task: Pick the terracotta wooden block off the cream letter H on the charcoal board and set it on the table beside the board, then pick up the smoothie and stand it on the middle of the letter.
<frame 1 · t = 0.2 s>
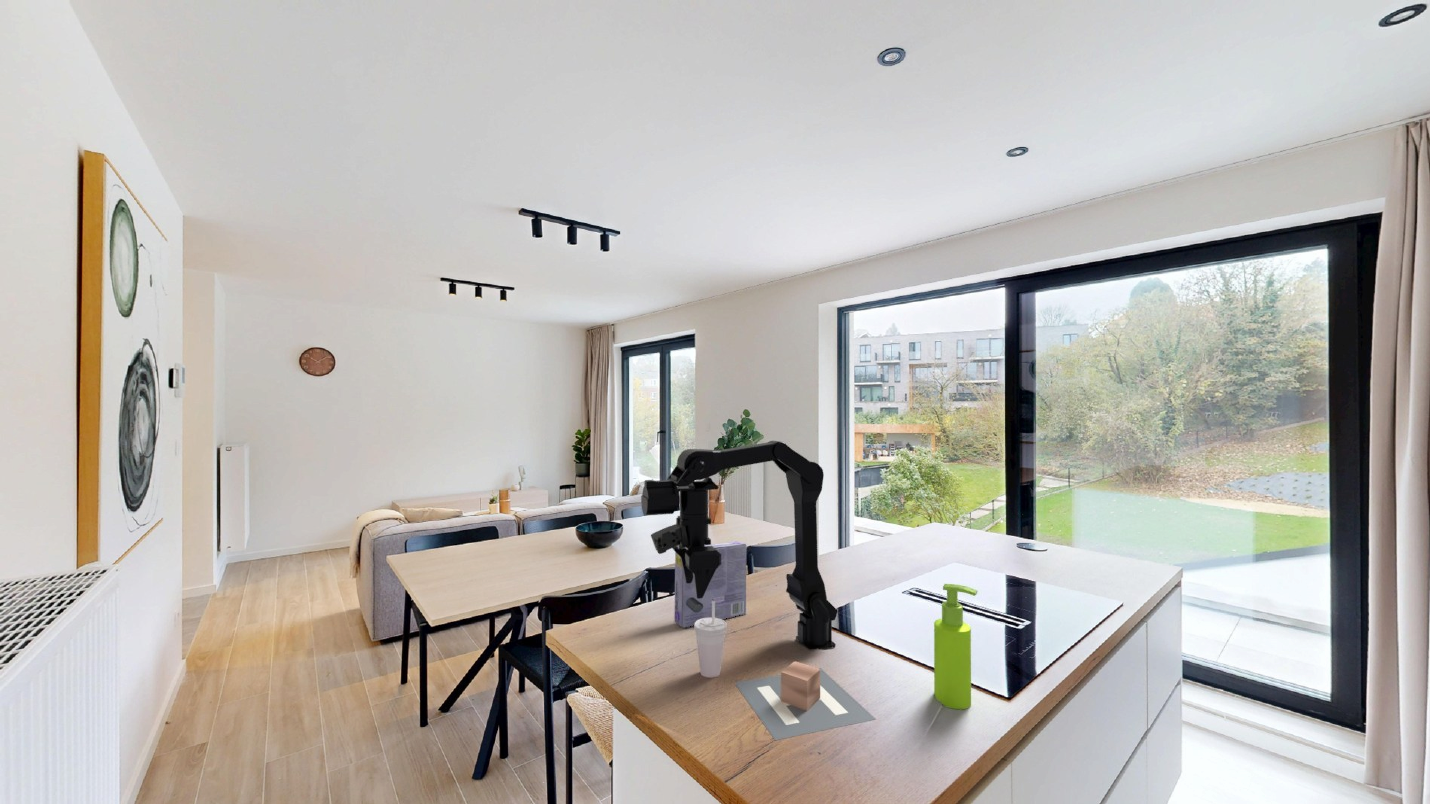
hand: (694, 590, 106), 14 cm above the worktop, tool pointing down, fingers open, 9 cm apart
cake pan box: (712, 619, 129), on the worktop
soap dispenser: (955, 702, 93), on the worktop
terracotta block: (800, 699, 92), resting on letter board
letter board: (800, 702, 92), on the worktop
smoothie: (710, 675, 102), on the worktop
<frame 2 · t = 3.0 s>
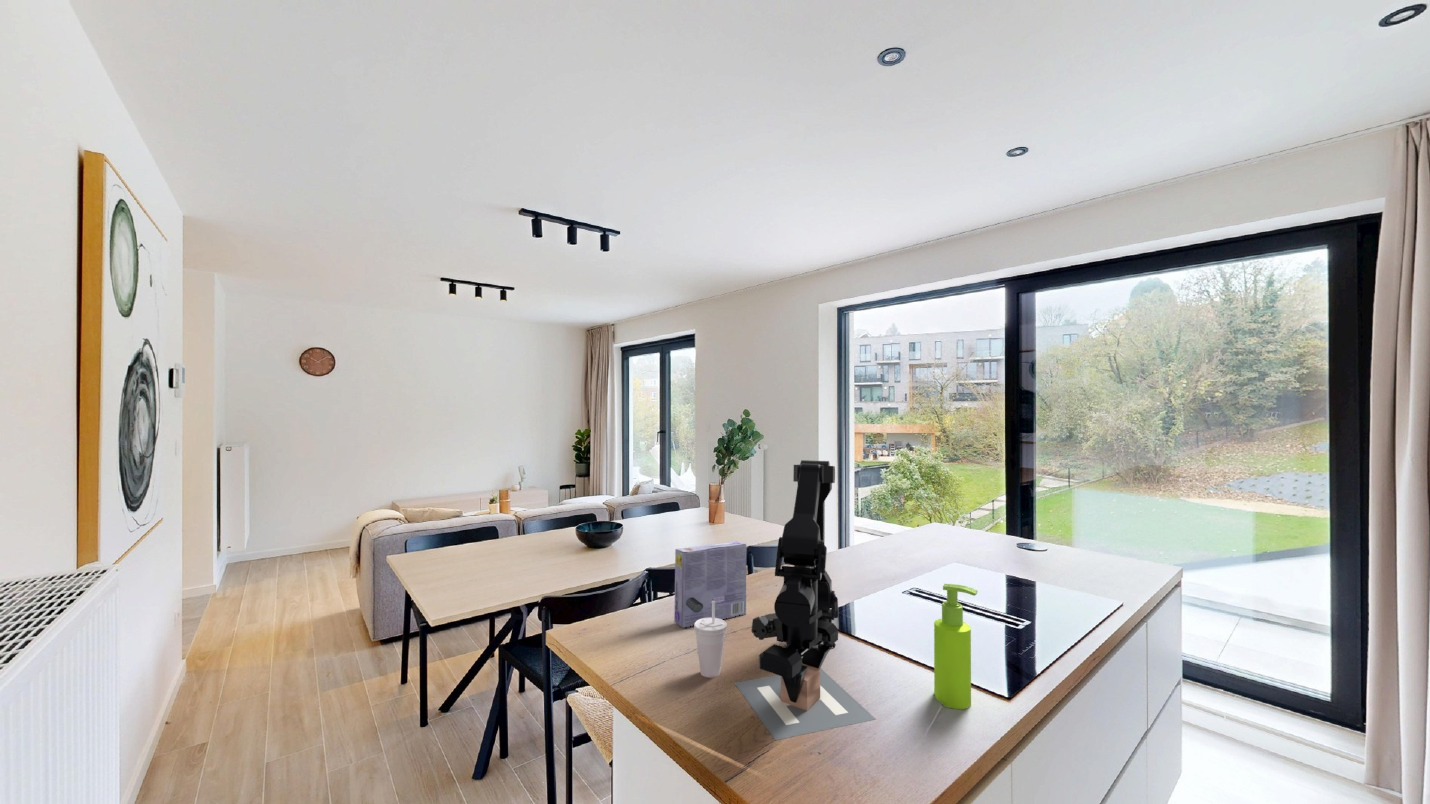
hand: (800, 694, 92), 1 cm above the worktop, tool pointing down, fingers closed on terracotta block, 5 cm apart
terracotta block: (800, 699, 92), resting on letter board, touching gripper
everything else where it was.
when the fingers open (2 cm above the worktop, at t = 7.6 s): terracotta block drops 1 cm, on the worktop.
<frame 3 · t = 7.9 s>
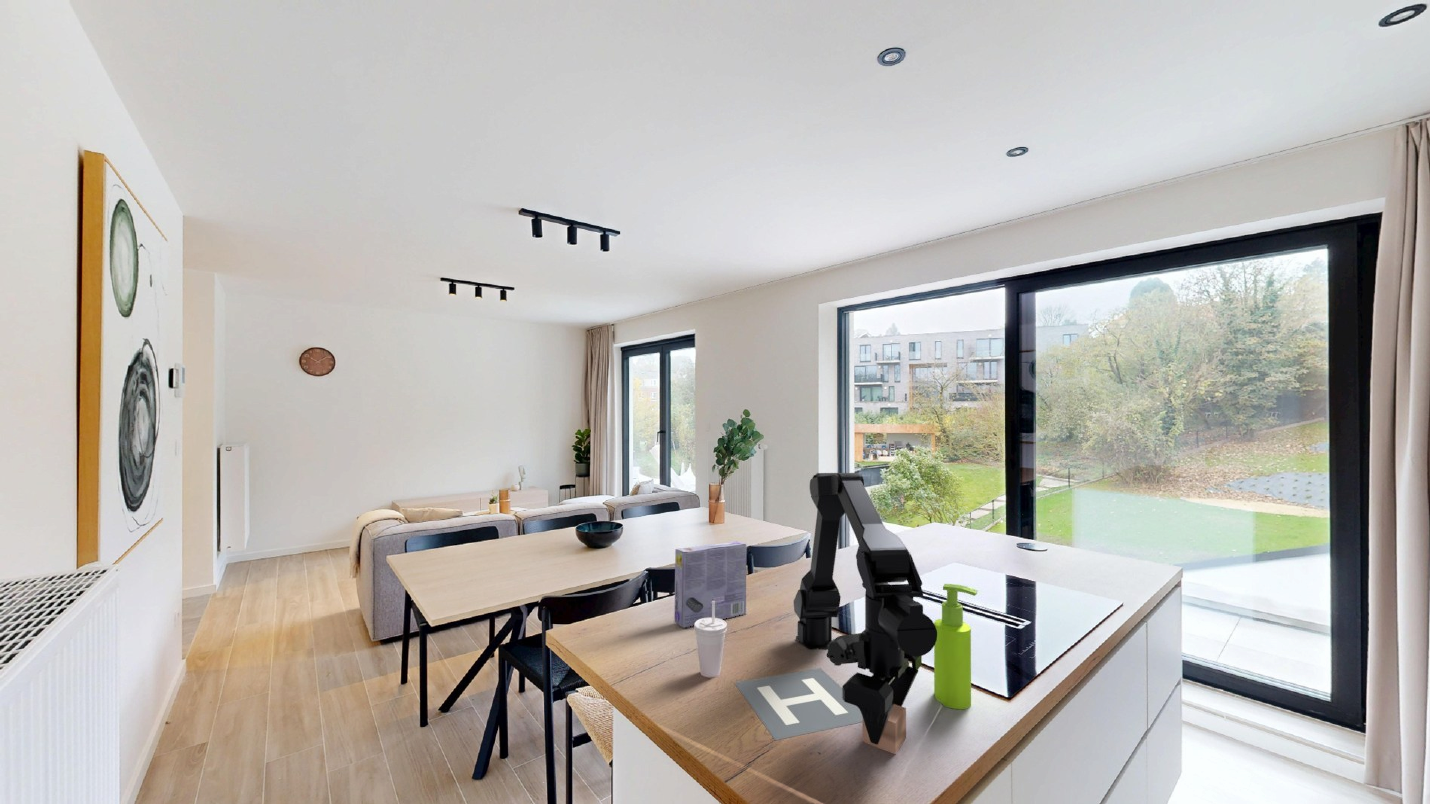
hand: (884, 728, 81), 2 cm above the worktop, tool pointing down, fingers open, 8 cm apart
terracotta block: (884, 742, 81), on the worktop
everything else where it was.
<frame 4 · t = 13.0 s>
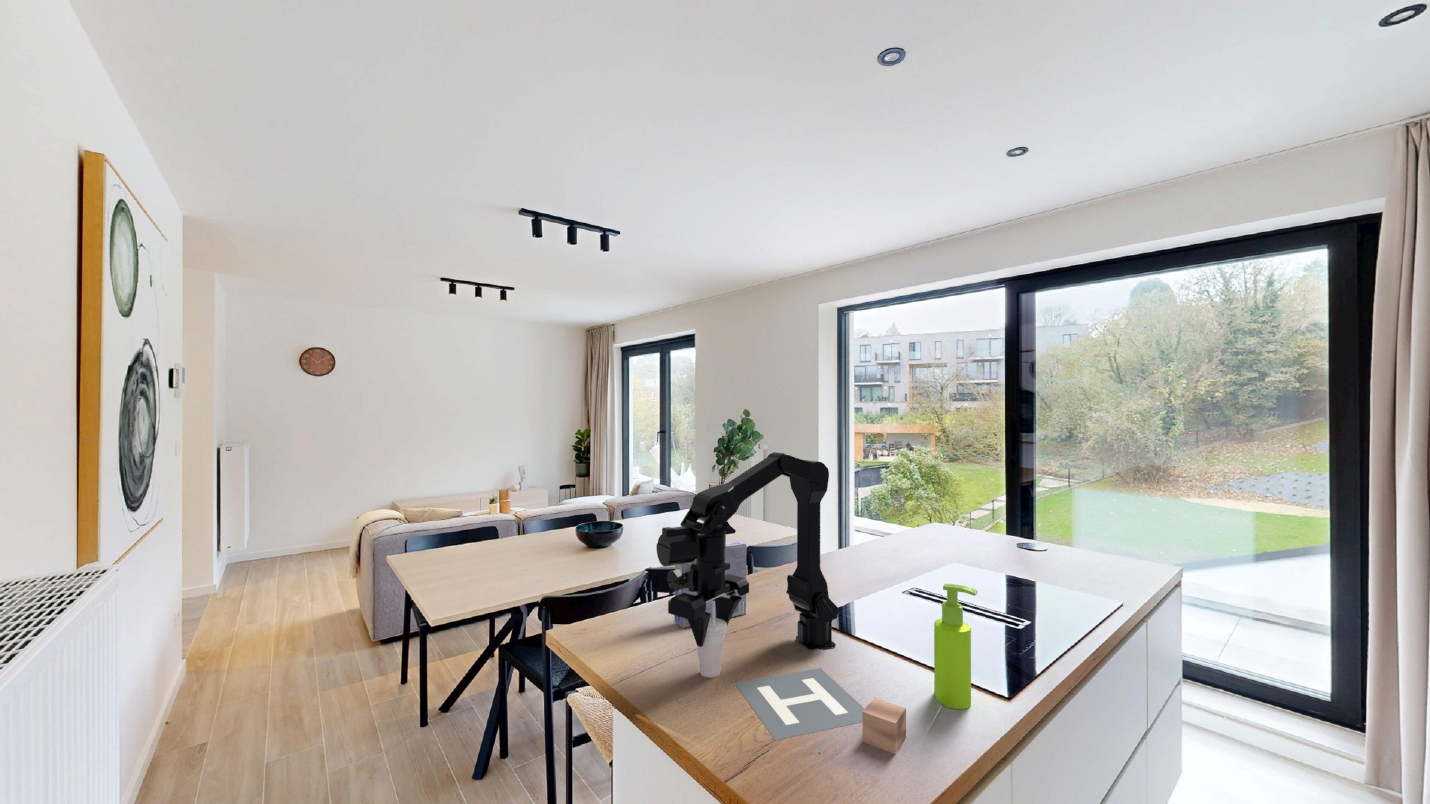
hand: (710, 640, 102), 7 cm above the worktop, tool pointing down, fingers closed on smoothie, 6 cm apart
smoothie: (710, 675, 102), on the worktop, touching gripper
everything else where it was.
when the fingers open (8 cm above the worktop, at t = 17.1 s): smoothie stays where it is, resting on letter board.
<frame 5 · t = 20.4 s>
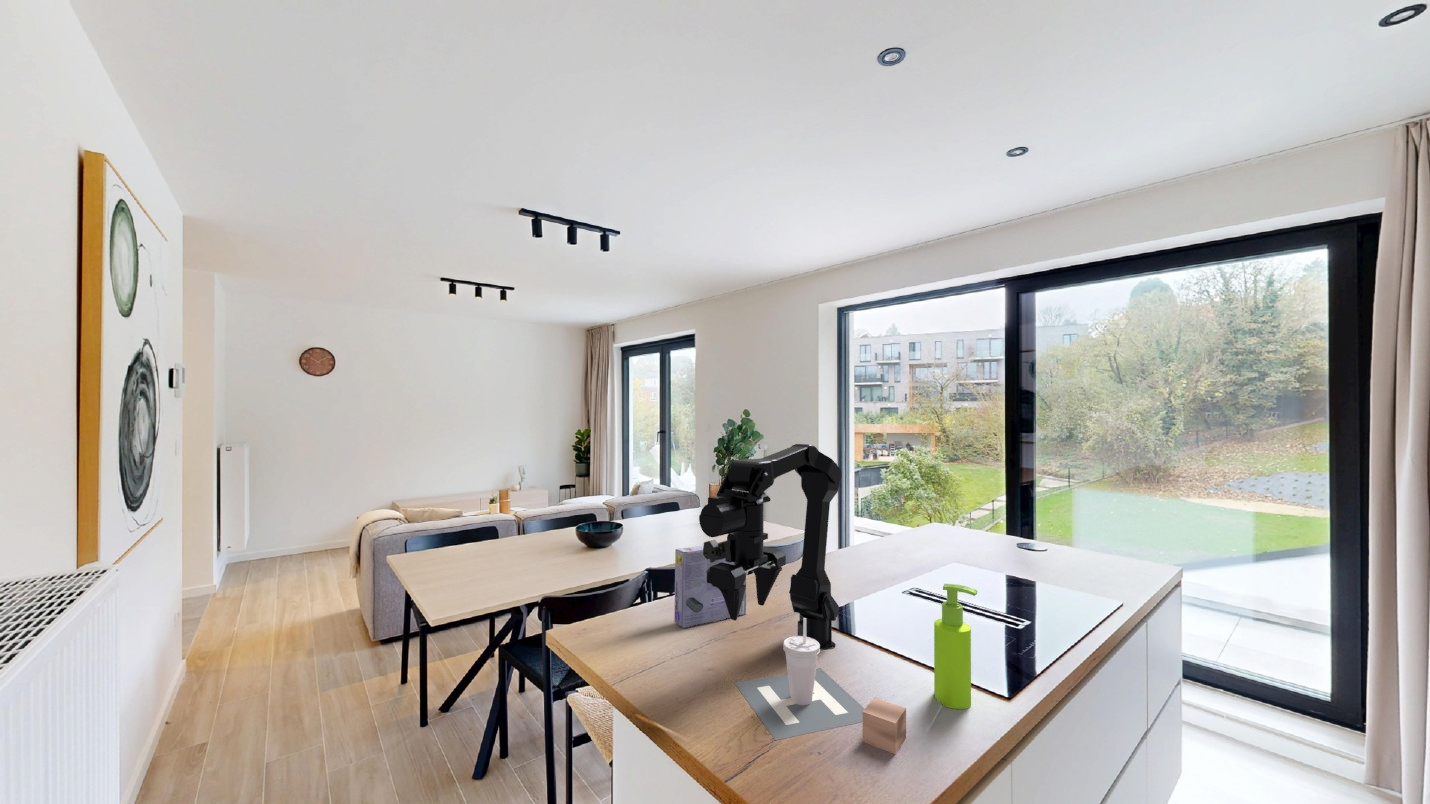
hand: (747, 612, 99), 13 cm above the worktop, tool pointing down, fingers open, 9 cm apart
smoothie: (801, 700, 92), resting on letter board
everything else where it was.
at the end: smoothie 0.1 cm off-centre on the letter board, point 0.2 cm above the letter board's base; smoothie tilted 0°; terracotta block touching worktop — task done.
